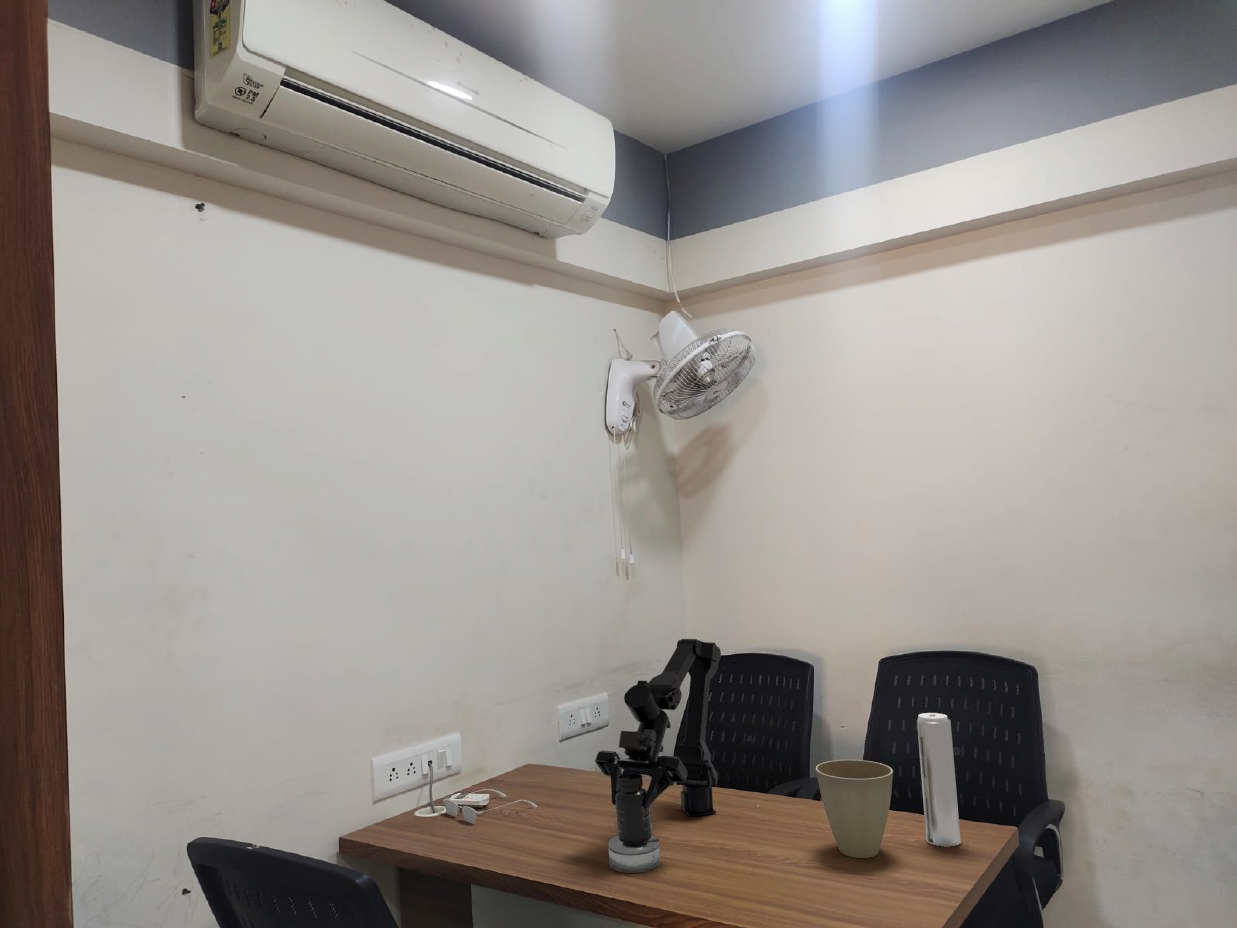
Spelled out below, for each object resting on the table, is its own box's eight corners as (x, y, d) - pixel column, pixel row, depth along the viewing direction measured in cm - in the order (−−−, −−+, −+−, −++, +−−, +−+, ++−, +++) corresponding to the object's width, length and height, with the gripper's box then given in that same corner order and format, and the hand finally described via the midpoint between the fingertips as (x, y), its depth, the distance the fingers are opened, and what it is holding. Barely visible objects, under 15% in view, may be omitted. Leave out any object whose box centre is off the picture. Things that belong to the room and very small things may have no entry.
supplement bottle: (643, 830, 168) (638, 769, 170) (658, 839, 162) (653, 776, 163) (612, 837, 165) (608, 775, 167) (626, 847, 159) (622, 782, 161)
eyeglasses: (442, 814, 201) (442, 797, 201) (504, 797, 213) (504, 781, 214) (477, 828, 190) (476, 810, 190) (540, 809, 202) (539, 792, 202)
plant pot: (894, 869, 154) (887, 781, 156) (814, 860, 160) (808, 775, 162) (903, 842, 168) (897, 761, 169) (829, 834, 174) (823, 756, 175)
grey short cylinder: (650, 850, 170) (649, 830, 170) (667, 867, 160) (665, 846, 160) (603, 857, 167) (602, 837, 167) (617, 875, 157) (616, 853, 158)
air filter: (963, 847, 163) (952, 717, 166) (929, 846, 165) (918, 718, 167) (957, 836, 170) (946, 711, 172) (924, 835, 171) (914, 711, 173)
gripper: (596, 711, 174) (572, 779, 163) (678, 715, 165) (658, 788, 155) (616, 740, 180) (593, 808, 169) (695, 746, 172) (677, 818, 161)
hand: (629, 805), depth 163 cm, fingers closed on supplement bottle, 7 cm apart
